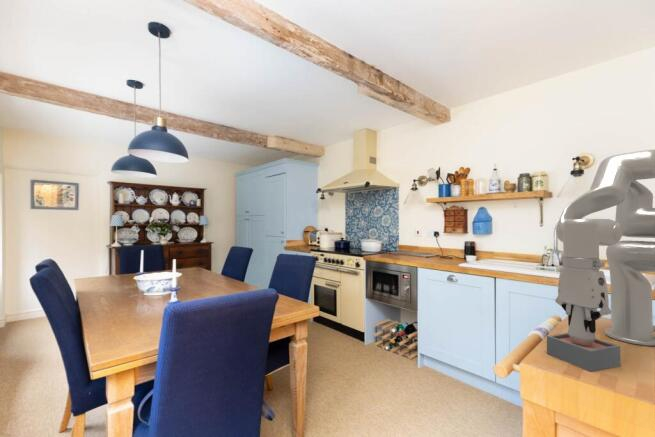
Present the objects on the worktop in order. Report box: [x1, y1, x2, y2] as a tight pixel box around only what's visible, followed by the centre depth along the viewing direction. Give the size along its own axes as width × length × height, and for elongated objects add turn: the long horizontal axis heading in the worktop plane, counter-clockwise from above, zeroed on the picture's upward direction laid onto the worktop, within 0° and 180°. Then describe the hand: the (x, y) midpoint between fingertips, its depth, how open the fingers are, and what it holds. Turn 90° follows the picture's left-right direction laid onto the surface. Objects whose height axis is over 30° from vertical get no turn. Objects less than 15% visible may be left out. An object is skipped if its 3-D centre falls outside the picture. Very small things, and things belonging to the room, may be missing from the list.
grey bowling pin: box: [567, 302, 597, 347], centre depth 82 cm, size 6×6×13 cm
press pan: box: [560, 337, 607, 350], centre depth 82 cm, size 9×9×1 cm
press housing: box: [546, 332, 621, 372], centre depth 82 cm, size 11×11×5 cm
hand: (581, 331), depth 82 cm, fingers closed on grey bowling pin, 3 cm apart
